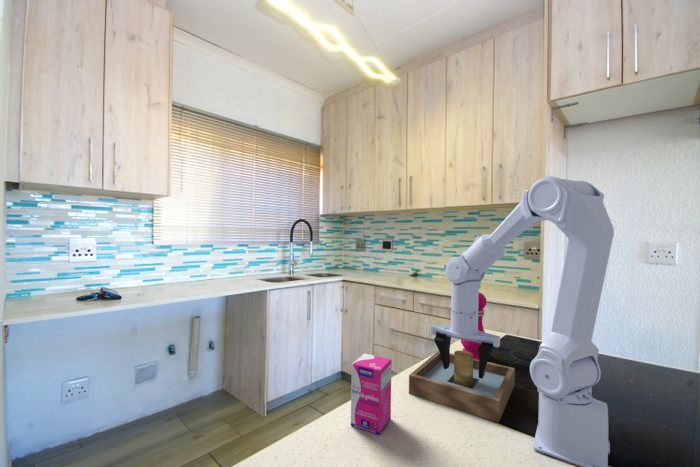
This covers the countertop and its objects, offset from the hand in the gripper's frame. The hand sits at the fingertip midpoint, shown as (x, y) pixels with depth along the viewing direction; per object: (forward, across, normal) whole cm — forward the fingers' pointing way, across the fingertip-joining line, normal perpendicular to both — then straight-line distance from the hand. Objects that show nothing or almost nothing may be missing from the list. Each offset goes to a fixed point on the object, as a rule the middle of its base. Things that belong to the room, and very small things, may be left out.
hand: (463, 371), depth 72 cm
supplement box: (+4, +10, +23) cm, 25 cm away
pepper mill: (+4, +3, -21) cm, 22 cm away
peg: (+4, 0, 0) cm, 4 cm away
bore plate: (+4, 0, 0) cm, 4 cm away
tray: (+4, 0, 0) cm, 4 cm away
